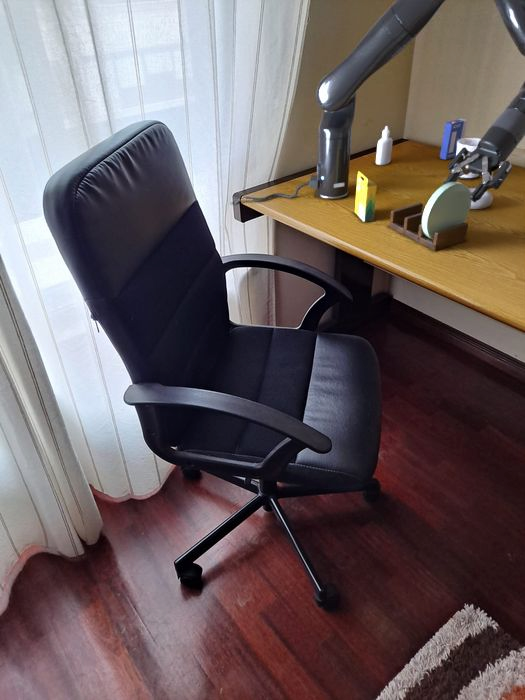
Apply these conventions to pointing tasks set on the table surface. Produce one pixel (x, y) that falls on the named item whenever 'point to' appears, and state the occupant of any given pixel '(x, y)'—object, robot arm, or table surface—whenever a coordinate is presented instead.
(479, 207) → the donut
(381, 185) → the table surface
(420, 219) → the rack
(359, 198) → the crayon box
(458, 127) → the walkman
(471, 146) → the mug
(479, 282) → the table surface
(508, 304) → the table surface
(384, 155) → the eye dropper bottle
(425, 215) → the plate
